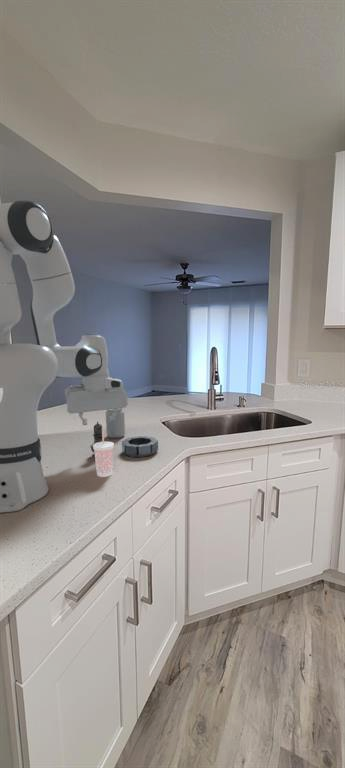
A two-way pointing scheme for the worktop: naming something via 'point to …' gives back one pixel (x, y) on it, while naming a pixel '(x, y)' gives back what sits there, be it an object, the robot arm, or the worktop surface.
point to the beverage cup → (104, 457)
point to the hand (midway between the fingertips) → (99, 422)
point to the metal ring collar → (139, 446)
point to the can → (115, 424)
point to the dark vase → (97, 436)
